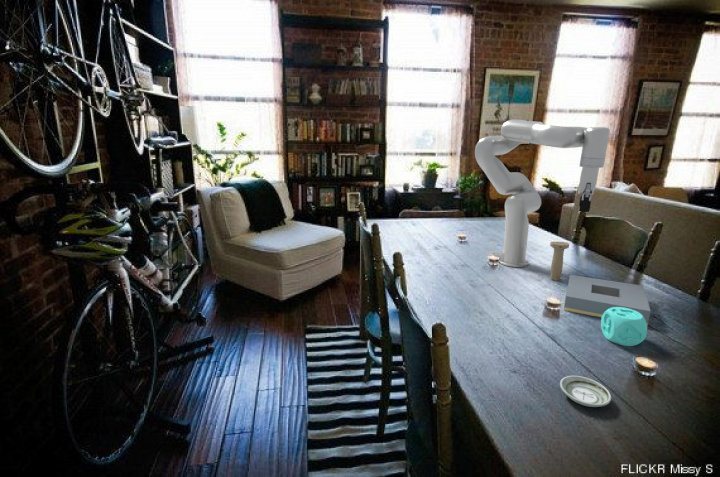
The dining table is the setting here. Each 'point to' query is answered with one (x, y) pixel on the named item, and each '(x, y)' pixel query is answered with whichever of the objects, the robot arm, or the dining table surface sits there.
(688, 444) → the dining table surface
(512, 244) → the robot arm
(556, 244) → the handle
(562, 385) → the saucer
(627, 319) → the decorative dice
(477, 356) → the dining table surface
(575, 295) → the socket block
